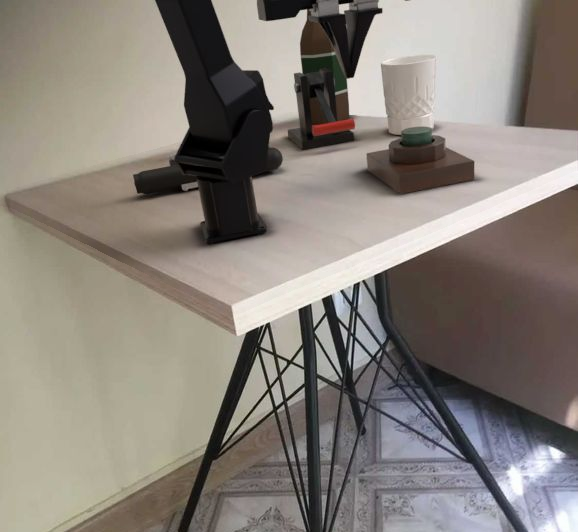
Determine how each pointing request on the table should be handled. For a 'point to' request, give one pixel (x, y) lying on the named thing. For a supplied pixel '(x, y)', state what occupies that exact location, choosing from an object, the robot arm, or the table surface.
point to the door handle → (175, 179)
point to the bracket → (304, 133)
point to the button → (416, 136)
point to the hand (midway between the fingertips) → (349, 77)
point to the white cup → (409, 91)
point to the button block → (420, 166)
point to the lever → (325, 108)
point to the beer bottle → (319, 56)
